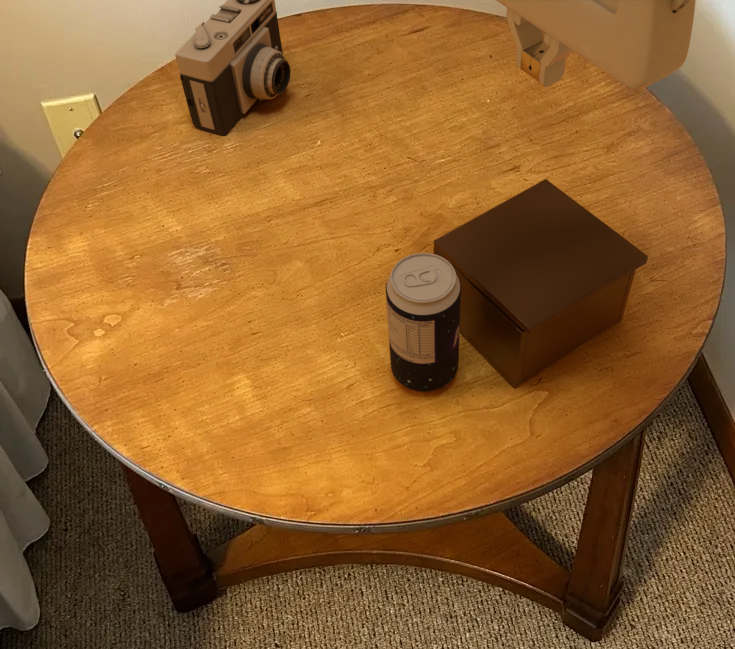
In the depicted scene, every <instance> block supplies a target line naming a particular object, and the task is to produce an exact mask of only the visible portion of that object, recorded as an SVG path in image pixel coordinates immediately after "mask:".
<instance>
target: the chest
mask: <svg viewBox="0 0 735 649" xmlns="http://www.w3.org/2000/svg"><path fill="white" fill-rule="evenodd" d="M433 254H435V255H438V256H441V257H443V258H444V259H446V258H445V257H444V256H443V255H441V254H440V253H439V252H438V251H437V250H436V249H435V248H434V247H433ZM446 260H447V259H446ZM447 261H448V260H447ZM448 262H449V261H448ZM450 264H451V263H450ZM451 265H452V264H451ZM452 266H453V265H452ZM453 268H454V270H455V272H456V275H457V276H458V278H459V280H460V283H461V306H460V332H459V334H460V335H462V337H463V338H465V339H466V340H467V342H468V343H470V344H471V345H472V347H474V349H475V350H476V351H477V352H478V353H479V354H480V355H481V356H482V357H483V359H485V360H486V361H487V362H488V363H489V364H490V365H491V367H493V368H494V369H495V370H496V371H497V373H499V374H500V376H502V378H504V379H505V381H506V382H508V383H509V385H511V386H512V387H513V388H514V389H516V388H518V387H519V386H521V385H523V384H524V383H526V382H528V381H529V380H531V379H532V378H533V377H535V376H537V375H538V374H540V373H541V372H543V371H545V370H546V369H548V368H549V367H551V366H552V365H554V364H556V363H557V362H558V361H560V360H562V359H563V358H565V357H566V356H568V355H569V354H571V353H573V352H574V351H576V350H577V349H578V348H580V347H582V346H583V345H585V344H587V343H588V342H590V341H592V340H593V339H594V338H596V337H597V336H599V335H600V334H602V333H603V332H605V331H607V330H608V329H610V328H612V327H613V326H615V325H616V324H618V323H619V322H621V321H622V320H623V318H624V315H625V312H626V311H625V310H626V308H627V303H628V301H629V300H628V299H629V297H630V292H631V288H632V285H633V281H634V277H635V274H636V270H634V271H633V272H631V273H630V274H628V275H626V276H625V277H623V278H622V279H620V280H618V281H617V282H615V283H614V284H612V285H610V286H609V287H607V288H605V289H604V290H602V291H601V292H599V293H597V294H596V295H594V296H593V297H591V298H589V299H588V300H586V301H585V302H583V303H581V304H580V305H578V306H577V307H575V308H573V309H572V310H570V311H569V312H567V313H565V314H564V315H562V316H560V317H559V318H557V319H556V320H554V321H552V322H551V323H549V324H548V325H546V326H544V327H543V328H541V329H540V330H538V331H536V332H535V333H533V334H532V335H530V336H529V335H528V334H527V333H526V332H525V331H524V330H523V329H522V328H521V327H519V326H518V325H517V324H516V323H515V322H514V321H513V320H512V319H511V318H510V317H509V316H508V315H506V314H505V313H504V312H503V311H502V310H501V309H500V308H499V307H498V306H497V305H496V304H495V303H493V302H492V301H491V300H490V299H489V298H488V297H487V296H486V295H485V294H484V293H483V292H482V291H480V290H479V289H478V288H477V287H476V286H475V285H474V284H473V283H472V282H471V281H470V280H469V279H467V278H466V277H465V276H464V275H463V274H462V273H461V272H460V271H459V270H458V269H457V268H456V267H454V266H453Z"/></svg>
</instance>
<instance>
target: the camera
mask: <svg viewBox="0 0 735 649" xmlns="http://www.w3.org/2000/svg"><path fill="white" fill-rule="evenodd" d="M218 9H219V11H218V12H217V13H216V14H214V13H213V14H210V16H209V18H208V19H207V20H206V21H202V22H201V23H200V24H198V25H197V26H196V28H195V32H194V33H193V35H191V37H190V38H189V39H188V40H187V41H186V42H184V43H183V44H182V46H180V47H179V48H178V49H177V51H175V53H174V56H175V60H176V63H177V67H178V71H179V78H180V82H181V85H182V89H183V93H184V96H185V101H186V105H187V108H188V112H189V116H190V120H191V124H192V126H193V127H195V129H198V130H200V131H204V132H207V133H211V134H215V135H219V136H224V137H225V136H227V135H228V134H229V133H230V132H231V131H232V130H233V129H234V127H235V126H236V125H237V124H238V122H240V120H241V119H242V117H244V116H245V114H247V112H248V111H249V110H250V108H251V107H252V106H253V105H254V104H255V102H256V101H257V100H258V101H259V102H261V101H264V100H272V99H275V98H276V97H277V96H279V95H282V94H283V93H284V92H285V91H286V90H287V88H288V86H289V84H290V80H291V66H290V63H289V61H288V60H286V59H285V55H284V52H283V46H282V40H281V33H280V27H279V26H280V25H279V20H278V19H279V18H278V12H277V6H276V1H275V0H226V1H225V2H224V3H223V4H222V5H221V4H220V6H219V7H218Z"/></svg>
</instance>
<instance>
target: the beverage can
mask: <svg viewBox="0 0 735 649" xmlns="http://www.w3.org/2000/svg"><path fill="white" fill-rule="evenodd" d="M385 299H386V300H385V301H386V314H387V330H388V344H389V358H390V359H389V360H390V371H391V373H392V376H393V377H394V379H395V380H396V381H397V382H398V383H399V384H400V385H402V386H403V387H405V388H407V389H408V390H411V391H414V392H421V393H428V392H434V391H438V390H441V389H442V388H444V387H446V386H448V385H449V384H450V383H451V382H452V381H453V380H454V378H455V377H456V376H457V372H458V370H459V357H460V356H459V353H460V306H461V283H460V280H459V278H458V276H457V275H456V272H455V270H454V268H453V266H452V265H451V264H450V262H448V261H447V260H446V259H444V258H443V257H441V256H438V255H435V254H434V253H430V252H417V253H412V254H409V255H406V256H404V257H403V258H401V259H400V260H398V261H397V262H396V263H395V265H394V266H393V267H392V270H391V272H390V275H389V277H388V279H387V281H386V284H385Z"/></svg>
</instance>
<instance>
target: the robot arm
mask: <svg viewBox="0 0 735 649" xmlns="http://www.w3.org/2000/svg"><path fill="white" fill-rule="evenodd" d="M495 1H496V2H498V3H499V4H501V5H502V6H504V7H505V8H506V21H507V24H508V26H509V30H510V33H511V36H512V38H513V41H514V44H515V46H516V56H515V66H516V68H518V69H519V70H520V71H522V72H524V74H526V75H528V76H529V77H531V78H532V79H533V80H535V81H536V82H537V83H539V84H541V85H542V86H543V87H545V88H549V87H551V86H552V85H554V84H556V83H558V82H560V81H561V80H562V78H563V77H564V74H565V68H566V61H567V58H568V57H569V56H570V55H572V53H575V54H576V55H577V56H580V57H581V58H582V59H584V60H586V61H587V62H588V63H590V64H592V65H593V66H594V67H597V68H598V69H599V70H600V71H602V72H604V73H605V74H607V75H608V76H610V77H611V78H613V79H614V80H615V81H617V82H619V83H620V84H622V85H623V86H625V87H626V88H628V89H630V90H633V91H639V90H641V89H643V88H646V87H649V86H651V85H653V84H655V83H658V82H659V81H662V80H663V79H665V78H667V77H669V76H670V75H672V74H674V73H675V72H676V71H678V70H679V69H680V68H682V66H683V65H684V63H685V62H686V59H687V57H688V53H689V49H690V45H691V44H690V43H691V38H692V34H693V26H694V19H695V11H696V10H695V9H696V0H495ZM543 34H544V35H543Z"/></svg>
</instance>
